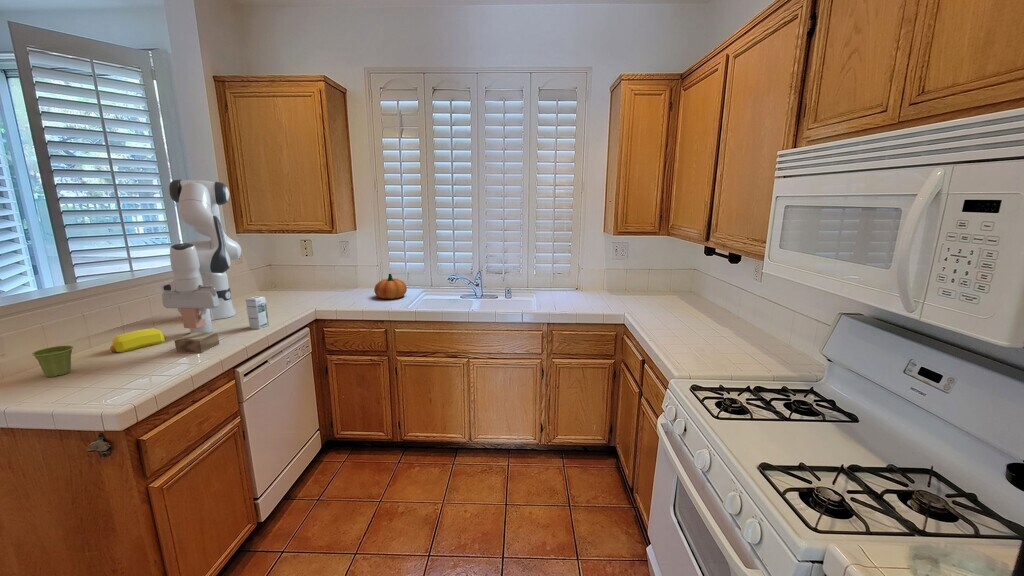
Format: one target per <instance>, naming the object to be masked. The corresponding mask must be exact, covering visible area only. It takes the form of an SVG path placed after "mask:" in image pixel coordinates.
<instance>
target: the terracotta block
mask: <svg viewBox="0 0 1024 576" xmlns="http://www.w3.org/2000/svg"><path fill="white" fill-rule="evenodd" d="M181 312H182V315H181V316H182V317H181V318H182V324H183V328H184V329H190V328H198V327H201V326H204V325H206V322H205V319H198V318H199V317H198V315H200V314H201V311H200V309H195V308H181Z"/></svg>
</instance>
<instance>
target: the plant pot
mask: <svg viewBox="0 0 1024 576" xmlns="http://www.w3.org/2000/svg"><path fill="white" fill-rule="evenodd" d="M73 349H74V346H72V345H57V346H50V347H45V348H41V349H38V350H35V351H34V352H32V353H31V355H32V356H33V357H35V359H36V360H37V362H38V364H39V366H40V368H41V370H42V373H43V374H44V377H48V378H53V377H57V376H64V375H67V374H69V373H70V372H71V371H72V354H73V353H72V352H73Z"/></svg>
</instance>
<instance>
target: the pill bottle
mask: <svg viewBox="0 0 1024 576" xmlns="http://www.w3.org/2000/svg"><path fill="white" fill-rule="evenodd" d="M205 322H206V325H204V326H201V327H198V328H189V333H190V334H191V333H194V332H200V333H213V325H212V320H211V317H210V310H209V309H207V311H206V313H205Z"/></svg>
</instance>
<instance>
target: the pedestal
mask: <svg viewBox="0 0 1024 576" xmlns="http://www.w3.org/2000/svg"><path fill="white" fill-rule="evenodd" d="M218 344H219V345H220V340H219V333H218V332H210V333H200V332H194V333H191V332H190V333H188V334H186V335H184V336H182V337H180V338H177V339H175V340H174V345H175V346H174V347H175V352H176V353H179V354H180V353H183V354H184V353H185V354H189V353H190V354H192V353H193V354H194V353H200V354H202V353H204V352H206V351H208V350H210V348H211V349H213V348H214V346H215V347H216V345H217V346H219V345H218ZM212 347H213V348H212Z"/></svg>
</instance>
